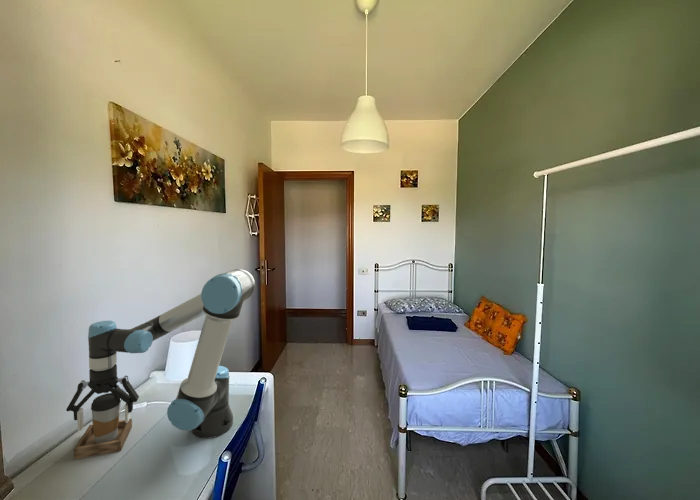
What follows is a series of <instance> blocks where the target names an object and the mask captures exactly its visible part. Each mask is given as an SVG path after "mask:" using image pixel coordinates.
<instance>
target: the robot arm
mask: <svg viewBox="0 0 700 500" xmlns="http://www.w3.org/2000/svg"><path fill="white" fill-rule="evenodd" d="M255 289H256V281H255V279H254V276H253V275H252V274H251V273H250V272H249V271H247V270H245V269H241V268H237V269H236V268H235V269H233V270H230V271H228V272H224V273H220V274H217V275H214V276H212V277H211V278H210V279H208V280H207V281H206V282H205V284H204V285H203V287H202V289H201V292H200V293H199V294H198V295H195V296H194V297H191V298H189V299H188V300H186V301H184V302H183V303H181V304H179V305H177V306H175V307H173V308H171V309H169V310H167V311H165V312H163V313H162V314H159V315H158V316H156V317H154V318H152V319H149V320H148V321H145V322H144V323H142V324H141V323H140V324H139V325H137V326H135V327H132V328H131V329H127V328H125V329H124V328H117V323H116V322H115V321H113V320H100V321H96V322H94V323H91V324H90V325H89V326H88V334H87V338H88V340H87V341H88V364H89V365H88V369H89V373H88V374H89V378H88V379H89V381H86V380H84V379H83V380H81V381H80V382H79V383H78V384H77V387H76V388H77V389H76V392H75V393H74V395H73V397H72V399H71V401H70V402H69V404H68V406H67V407H66V408H65V411H67V412H73V420H74V421H77V423H76V424H77V426H76V427H77V431H81V430H82V429H83V428H84V426H85V425H84V424H85V423H84V422H85V420H84V417H85V416H84V407H83V406H84V404H86V402H87V401H88V400H89V399H90V398H91V397H92V396H93V395H94V394H95V393H96V394H97V395H99V394H101V395H102V394H107V393H109V392H110V393H113V394H115V395H117V396H118V397H119V398H120V400H122V401H123V402H124V403H125V405H124V420H125V423H128V421H129V419H131V417H130V415H131V414H130V413H132V412H133V410H134V403H137V402H138V400H139V399H140V398H139V397H140V395H139V394H138V393H137V391H136V390H135V388H134V387H133V385H132V384H131V383H130V381H129V376H128V375H124V376H123V377H118V363H117V359H118V358H117V356H118V355H117V353H127V354H128V353H129V354H143V353H146V352H147V351H148V350H149V348H151V347H152V344H153V342H154V341H157V340H158V339H159V338H162V337H163V336H165V335H167V334H170V333H171V332H173V331H174V330H177V329H179V328H180V327H182V326H184V325H187V324H189V323H190V322H193V321H194V320H196V319H199V318H200V317H202V316H204V315H205V318H204V320H203V323H202V328H201V330H200V334H199V338H198V341H197V344H196V348H195V351H194V355H193V359H192V361H191V364H190V369H189V372H188V375H187V378H185V379H183V380H182V381H181V383H180V385H179V389H178V392H177V395H176V398H175V399H174V400H172V401H171V402H170V404H169V406H168V407H167V412H166V414H167V418H168V421H169V422H170V423H171V425H173V427H175V428H176V429H178V430H181V431H185V432H186V431H190V432H191V434H192V435H193V436H195V438H198V439H199V438H200V439H211V438H215V436H216V437H218V435H219V436H221V435H223V434H225V433H227V432H228V431H229V430H230V429H231V428H232V426H233V424H234V415H233V411H232V409H231V407H230V404H229V402H230V401H229V400H230V399H229V398H230V370H229V368H227V367H226V366H223V365H221V360H222V356H223V353H224V350H225V347H226V344H227V340H228V337H229V334H230V331H231V327H232V324H233V321H234V320H236V319H238V318H239V316H240V313H241V310H242V307H243V304H244V302H245V301H246V300H248V299H249V298H250V297H251V296H252V295H253V293H254V292H255ZM118 383H120V385H122V386H123V388H124V390H125V391H124V390H123V389H122V388H121V387H120V386H119V385H118ZM87 387H88V388H89V389H90V391H89V392H88V393H87V394H86V395H85V396H84V397H83V398H82V399H81V400H80V401H79V402H78V403H77V401H78V399H79V398H80V396H81V394H82V392H83V391H84V389H86V388H87ZM76 403H77V405H76ZM230 427H231V428H230ZM224 432H225V433H224ZM222 433H223V434H222ZM220 434H221V435H220Z"/></svg>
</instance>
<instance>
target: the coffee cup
mask: <svg viewBox="0 0 700 500" xmlns="http://www.w3.org/2000/svg"><path fill="white" fill-rule="evenodd" d="M121 400H122V399H120V398H119V397H118V396H117V395H115V394H113V393H111V392H110V393H109V392H108V393H102V394H101V395H99V396H96V397H95V398H94V399H93V400H92V402H91V405H90V410H91V416H92V417H91V419H92V420H91V421H92V425H93V432H94V440H95V442H96V444H98V443H104V442H110V441H113V440H114V439H115V438H116V436H117V432H118V423H119V421H120V407H121V403H122V402H121Z"/></svg>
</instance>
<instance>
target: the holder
mask: <svg viewBox="0 0 700 500" xmlns="http://www.w3.org/2000/svg"><path fill="white" fill-rule="evenodd" d="M132 428H133V418H130V419H129V421H128V423H125V419H121V420H120V419H119V423H118V432H117V436H116V438H115V439H114V440H113V441H110V442H104V443H98V444H96V442H95V440H94V432H93V424H89V425H88V427H87V429H86V430H85V431H84V432H83V435H82V436H81V438H80V439H79V441H77V444H76V445H75V447H74V448H73V450H72V451H73V460H78V459H83V458H89V457H95V456H100V455H106V454H111V453H116V452H121V451H122V450H123V448H124V445H125V443H126V441H127V439H128V437H129V435H130V433H131V430H132Z"/></svg>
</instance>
